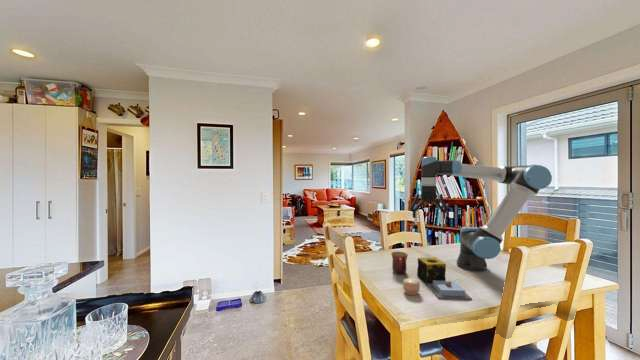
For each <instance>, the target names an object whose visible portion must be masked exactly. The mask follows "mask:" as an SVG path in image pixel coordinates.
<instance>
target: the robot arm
mask: <svg viewBox="0 0 640 360" xmlns="http://www.w3.org/2000/svg"><path fill="white" fill-rule="evenodd" d="M420 166H421V167H420V169H421V178H420V179H421V184H420V185H421V186H420V187H421V189H420V190H421V193H420V194H418V193H416V194H415V195H414V199H413V201H412V202H411V205H410V206H409V208H408V210H409V211H410V212H412V218H413V220H414V224H415V225H418V212H417V211H418V210H419V209H420V208H421V206H423V204H425V203H434V205H435V206H436V207H437V208H438V209H439V224H440V225H444V219H445V217H446V212H449V208H448V205H447V204H446V202H445V200H444V197H443V194H442V193H439V194H437V186H436V185H437V175H443V176H451V177H452V176H454V177H462V178H470V179H477V180H478V179H479V180H485V181H486V180H487V181H488V180H489V181H493V182H495V181H496V182H497V183H499V184H505V185H508V186H510V189H509V190H508V192H507V194H506V195H505V196H504V198H503V199H502V200H501V202H500V204H499V205H498V206H497V207H496V209H495V210H494V212H493V213H492V215H491V216H490V218H489V219H488V220H487V221H486V223H484V225H482V226H479V227H475V226H472V227H471V226H462V227H461V228H460V232H459V239H460V240H459V243H460V244H459V246H460V247H459V250H460V252H459V254H458V257H457V259H456V265H457V267H459V268H461V269H464V270H466V271H472V272H486V271H488V264H487V261H486V260H492V259H494V258H496V257H497V256H499V254H500V253H501V249H502V248H501V243H502V242H503V240H504V239H503V234H504V233H505V231H506V230H507V229H508V228H509V226H510V225H511V223H512V222H513V221H514V219H515V218H516V216H517V215H518V214H519V212H520V211H521V210H522V209H523V207H524V206H525V204H526V202H527V201H528V200H529V199H530V198H531V197H534V196H536V195H537V194H538V193H539V191H540V190H542V189H546V188H547V187H549V186H550V185H551V183H552V181H553V176H552V172H551V171H550V169H549V168H547V167H546V166H543V165H541V164H540V165H539V164H530V165H528V164H527V165H513V166H505V165H503V166H501V165H500V167H499V166H498V167H495V166H489V165H488V166H487V165H477V164H470V163H469V164H467V163H462V162H461V161H460V160H455V159H452V160H438V159H437V157H436V156H424V157H422V158H421V165H420ZM420 198H421V199H420ZM437 198H438V200H439V201H438V200H437ZM419 199H420V201H419ZM418 201H419V202H418ZM439 202H440V203H439Z"/></svg>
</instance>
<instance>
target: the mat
mask: <svg viewBox="0 0 640 360" xmlns="http://www.w3.org/2000/svg"><path fill="white" fill-rule="evenodd" d="M426 285H427V287H428V288H429V289H430V291H431V292H432V293H433V294H434V295H435V296H436V298H437V299H439V300H460V301H461V300H466V301H472V299H473V298H472V297H471V296H470V295H469V294H468V293H467V292H465V296H445V295H441V294H440V293H439V292H438V291H437V290H436V288H435V287H434V286H433V284H432V283H427V284H426Z"/></svg>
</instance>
